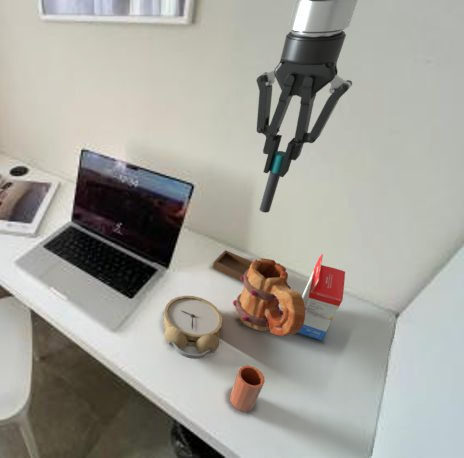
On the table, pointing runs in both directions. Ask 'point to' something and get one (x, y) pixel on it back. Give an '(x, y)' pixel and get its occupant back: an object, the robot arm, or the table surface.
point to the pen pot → (246, 388)
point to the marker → (272, 181)
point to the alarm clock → (192, 325)
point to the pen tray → (232, 265)
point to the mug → (269, 300)
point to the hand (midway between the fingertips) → (275, 171)
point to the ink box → (322, 299)
